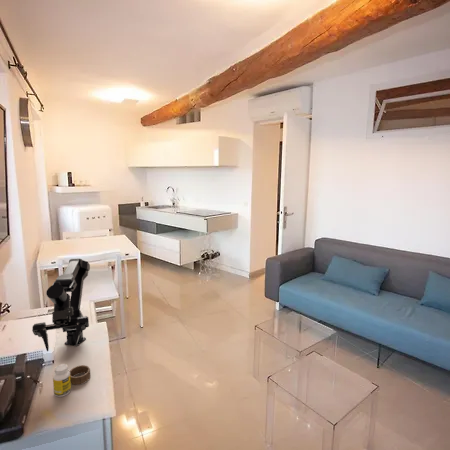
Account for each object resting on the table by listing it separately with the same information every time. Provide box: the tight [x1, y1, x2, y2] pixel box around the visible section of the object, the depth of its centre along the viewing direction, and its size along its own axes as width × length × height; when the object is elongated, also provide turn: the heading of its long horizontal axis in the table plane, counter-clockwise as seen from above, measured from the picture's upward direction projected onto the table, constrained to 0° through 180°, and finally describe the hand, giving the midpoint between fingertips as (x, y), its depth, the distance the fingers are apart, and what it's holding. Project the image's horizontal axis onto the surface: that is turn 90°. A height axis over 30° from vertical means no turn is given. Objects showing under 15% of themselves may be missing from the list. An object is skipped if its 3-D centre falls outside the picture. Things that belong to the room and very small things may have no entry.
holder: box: [69, 364, 91, 386], centre depth 119 cm, size 7×7×3 cm
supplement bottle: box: [52, 363, 72, 398], centre depth 111 cm, size 5×5×10 cm
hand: (61, 348), depth 116 cm, fingers open, 9 cm apart
